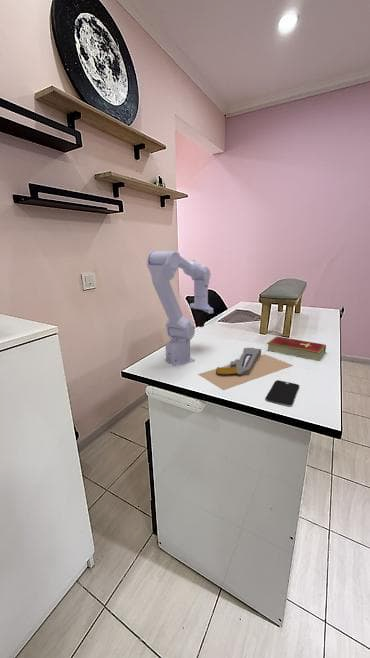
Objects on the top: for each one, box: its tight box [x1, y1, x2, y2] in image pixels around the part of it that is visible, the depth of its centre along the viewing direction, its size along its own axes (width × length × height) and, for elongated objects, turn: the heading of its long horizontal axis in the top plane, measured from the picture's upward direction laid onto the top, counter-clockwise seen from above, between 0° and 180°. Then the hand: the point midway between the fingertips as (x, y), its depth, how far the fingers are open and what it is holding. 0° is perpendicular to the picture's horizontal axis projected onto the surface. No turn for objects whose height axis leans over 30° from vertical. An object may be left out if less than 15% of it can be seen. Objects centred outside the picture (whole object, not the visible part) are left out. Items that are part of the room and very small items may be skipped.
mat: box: [197, 353, 294, 391], centre depth 102 cm, size 34×14×1 cm, turn 122°
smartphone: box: [264, 379, 300, 408], centre depth 85 cm, size 8×1×15 cm
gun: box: [215, 347, 262, 375], centre depth 106 cm, size 3×25×15 cm
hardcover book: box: [266, 335, 327, 361], centre depth 119 cm, size 12×21×4 cm, turn 53°
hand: (201, 326), depth 121 cm, fingers closed
